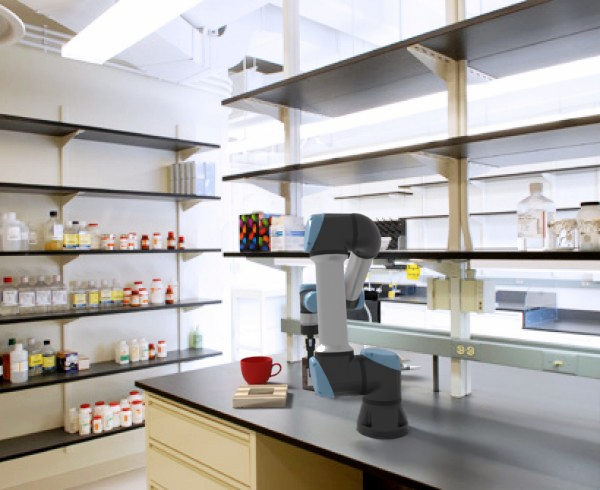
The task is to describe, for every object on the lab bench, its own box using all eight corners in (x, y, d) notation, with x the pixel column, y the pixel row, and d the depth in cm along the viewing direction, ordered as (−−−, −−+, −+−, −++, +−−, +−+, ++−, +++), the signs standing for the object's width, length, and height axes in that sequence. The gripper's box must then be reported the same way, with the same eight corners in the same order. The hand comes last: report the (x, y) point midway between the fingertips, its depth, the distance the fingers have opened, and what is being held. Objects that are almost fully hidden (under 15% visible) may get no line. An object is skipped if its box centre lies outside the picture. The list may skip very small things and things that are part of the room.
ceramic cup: (276, 390, 189) (276, 364, 189) (235, 388, 193) (235, 362, 193) (286, 381, 201) (286, 356, 201) (247, 379, 206) (247, 355, 206)
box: (321, 388, 190) (320, 357, 190) (314, 391, 186) (313, 359, 186) (308, 386, 193) (307, 355, 194) (301, 389, 190) (300, 357, 190)
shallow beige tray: (285, 406, 168) (284, 398, 169) (232, 407, 169) (232, 398, 169) (287, 392, 186) (287, 384, 186) (240, 393, 186) (239, 385, 186)
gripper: (320, 328, 179) (321, 389, 178) (319, 319, 201) (320, 373, 201) (299, 328, 179) (301, 390, 179) (301, 319, 201) (302, 374, 201)
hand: (311, 381), depth 190 cm, fingers open, 10 cm apart
